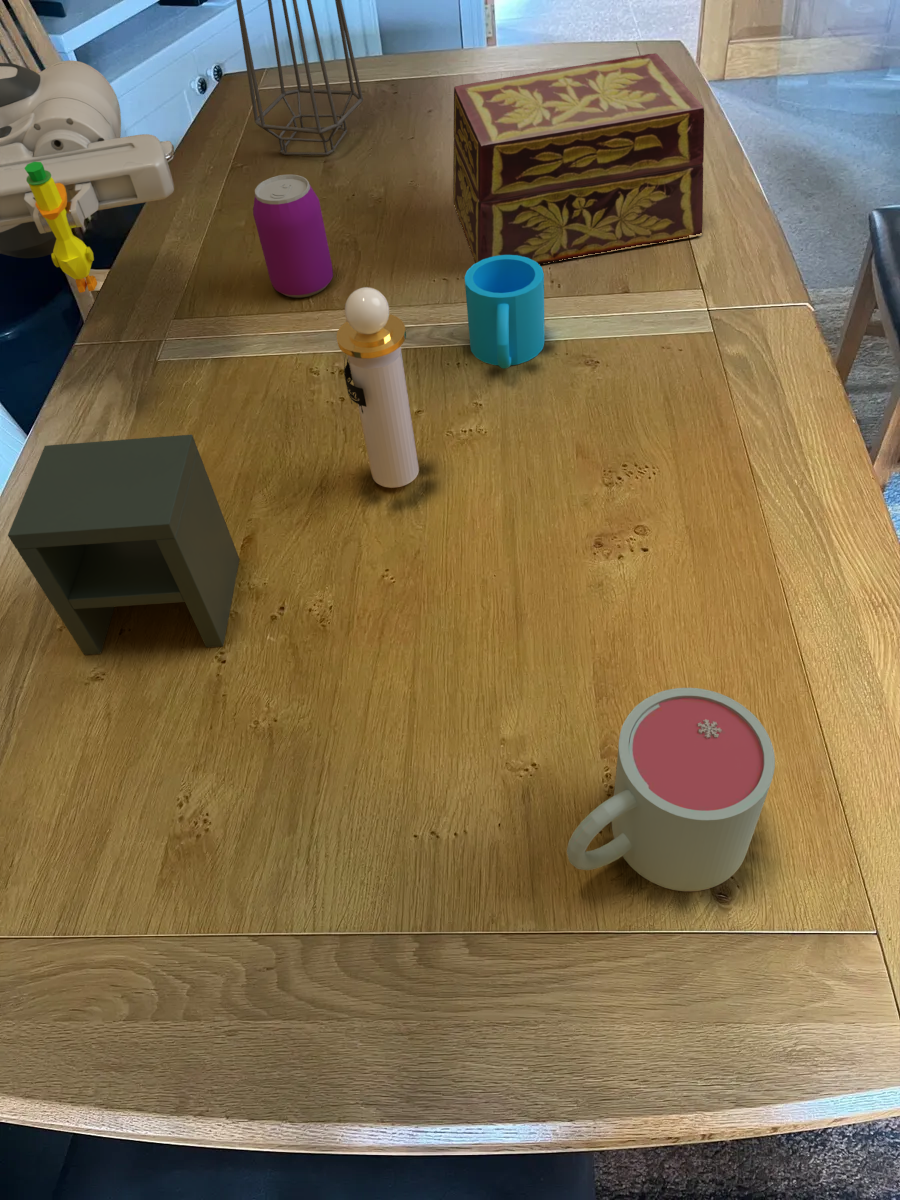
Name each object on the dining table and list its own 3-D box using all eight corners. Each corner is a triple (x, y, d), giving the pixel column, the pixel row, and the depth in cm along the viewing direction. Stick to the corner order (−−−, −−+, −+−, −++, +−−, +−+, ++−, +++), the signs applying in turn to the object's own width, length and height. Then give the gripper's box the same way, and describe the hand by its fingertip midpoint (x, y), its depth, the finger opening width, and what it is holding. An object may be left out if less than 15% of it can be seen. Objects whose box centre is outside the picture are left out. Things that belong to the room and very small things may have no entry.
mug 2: (691, 746, 68) (708, 665, 61) (778, 849, 63) (808, 773, 55) (530, 835, 65) (526, 761, 57) (606, 952, 59) (614, 887, 52)
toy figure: (72, 270, 92) (19, 147, 83) (108, 264, 92) (59, 140, 83) (66, 307, 88) (9, 182, 79) (104, 300, 88) (52, 175, 79)
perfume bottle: (414, 450, 92) (386, 264, 77) (434, 486, 89) (409, 298, 73) (359, 468, 91) (319, 283, 76) (377, 505, 88) (339, 318, 72)
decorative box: (654, 169, 125) (664, 46, 114) (703, 237, 113) (719, 108, 102) (452, 204, 124) (442, 83, 112) (479, 277, 112) (470, 150, 100)
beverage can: (289, 263, 117) (266, 168, 108) (344, 270, 115) (326, 173, 106) (261, 297, 113) (235, 201, 104) (319, 304, 111) (297, 207, 102)
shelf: (83, 655, 79) (7, 535, 68) (110, 567, 85) (44, 445, 74) (223, 646, 78) (168, 524, 67) (239, 558, 85) (192, 434, 74)
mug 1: (472, 323, 106) (466, 256, 99) (544, 320, 105) (544, 253, 98) (465, 389, 98) (459, 321, 92) (544, 387, 97) (543, 318, 91)
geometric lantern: (290, 118, 146) (230, -166, 120) (383, 123, 142) (343, -170, 115) (245, 165, 137) (170, -132, 110) (344, 171, 133) (291, -135, 106)
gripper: (183, 170, 96) (183, 235, 87) (-17, 203, 95) (-38, 274, 86) (164, 105, 91) (161, 168, 82) (-47, 140, 90) (-73, 208, 81)
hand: (57, 222), depth 84 cm, fingers closed on toy figure
